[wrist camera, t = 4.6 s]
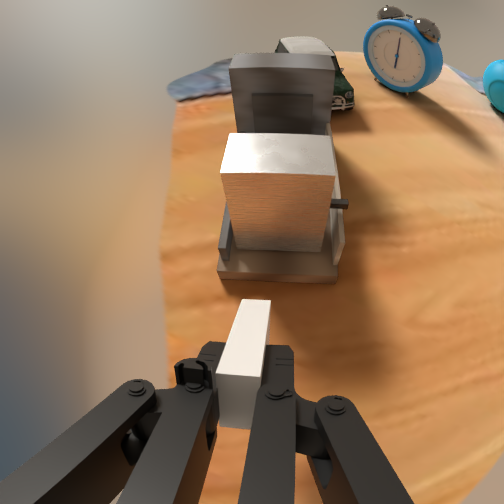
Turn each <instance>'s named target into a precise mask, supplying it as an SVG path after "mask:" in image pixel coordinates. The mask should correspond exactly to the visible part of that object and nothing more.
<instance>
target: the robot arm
mask: <svg viewBox="0 0 504 504" xmlns="http://www.w3.org/2000/svg"><path fill="white" fill-rule="evenodd" d="M270 308H271V300H252V299H242V301H241V304H240V306H239V309H238V312H237V315H236V318H235V320H234V323H233V326H232V329H231V331H230V334H229V337H228V340H227V343H223V342H212V341H209V342H208V343H207V344H205V345H204V346H203V347H202V349H201V351H200V353H199V355H198V357H197V358H188V359H183V360H181V361H179V362H177V363H176V365H175V366H174V369H175V375H176V382H177V385H176V387H175V388H171V389H159V390H155V388H154V386H153V385H152V383H150V382H149V381H147V380H142V379H135V380H131V381H127V382H126V383H124V384H123V385H121V386H120V387H119V388H118V389H117V390H115V391H114V392H113V393H112V394H110V395H109V396H108V397H107V398H106V399H104V400H103V401H102V402H101V403H100V404H98V405H97V406H96V407H94V408H93V409H92V410H91V411H90V412H88V413H87V414H86V415H85V416H83V417H82V418H81V419H80V420H78V421H77V422H76V423H75V424H74V425H72V426H71V427H70V428H69V429H67V430H66V431H65V432H64V433H62V434H61V435H60V436H58V437H57V438H56V439H55V440H54V441H52V442H51V443H50V444H49V445H47V446H46V447H45V448H43V449H42V450H41V451H40V452H38V453H37V454H36V455H35V456H33V457H32V458H31V459H29V460H28V461H27V462H26V463H24V464H23V465H22V466H21V467H19V468H18V469H17V470H15V471H14V472H13V473H12V474H10V475H9V476H8V477H6V478H5V479H4V480H2V481H1V482H0V504H109V503H111V501H112V500H113V499H114V498H115V497H116V496H117V495H118V494H119V493H120V492H121V491H122V489H124V490H123V491H122V494H121V495H120V497H119V499H118V501H117V503H116V504H198V502H199V499H200V495H201V492H202V488H203V485H204V481H205V478H206V474H207V471H208V467H209V464H210V460H211V456H212V453H213V449H214V446H215V442H216V438H217V424H218V420H219V425H220V426H221V427H230V428H240V429H251V432H250V438H249V443H248V449H247V455H246V461H245V466H244V472H243V478H242V483H241V489H240V494H239V499H238V504H294V493H295V452H297V453H301V454H304V455H307V460H308V463H309V465H310V468H311V471H312V474H313V476H314V479H315V482H316V485H317V487H318V490H319V493H320V496H321V498H322V501H323V504H414V502H413V501H412V499H411V497H410V496H409V494H408V492H407V491H406V489H405V488H404V486H403V484H402V483H401V481H400V479H399V478H398V476H397V474H396V473H395V471H394V469H393V468H392V466H391V464H390V463H389V461H388V459H387V458H386V456H385V455H384V453H383V451H382V450H381V448H380V446H379V445H378V443H377V441H376V440H375V438H374V436H373V435H372V433H371V432H370V430H369V428H368V427H367V425H366V423H365V422H364V420H363V418H362V417H361V415H360V414H359V412H358V410H357V409H356V407H355V405H354V404H353V403H352V402H351V401H350V400H349V399H347V398H345V397H342V396H337V395H335V396H327V397H324V398H322V399H320V400H319V401H318V402H317V403H316V402H312V401H308V400H305V399H303V398H301V397H300V396H299V395H298V394H297V393H296V392H295V389H294V352H293V351H292V349H291V348H290V347H289V346H287V345H269V335H270Z"/></svg>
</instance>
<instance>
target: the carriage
mask: <svg viewBox="0 0 504 504" xmlns="http://www.w3.org/2000/svg"><path fill="white" fill-rule="evenodd" d="M220 173H221V178H222V182H223V187H224V192H225V196H226V201H227V206H228V210H229V215H230V220H231V224H232V229H233V233H234V238H235V242H236V247H237V249H249V250H274V251H298V252H320V251H321V246H322V242H323V237H324V232H325V228H326V223H327V218H328V213H329V208H331V209H348V205H349V204H348V199H331V198H332V193H333V188H334V183H335V177H336V174H335V166H334V158H333V151H332V145H331V138H330V136H326V135H308V134H279V133H233V134H229V138H228V142H227V146H226V151H225V155H224V159H223V163H222V168H221V172H220Z"/></svg>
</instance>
